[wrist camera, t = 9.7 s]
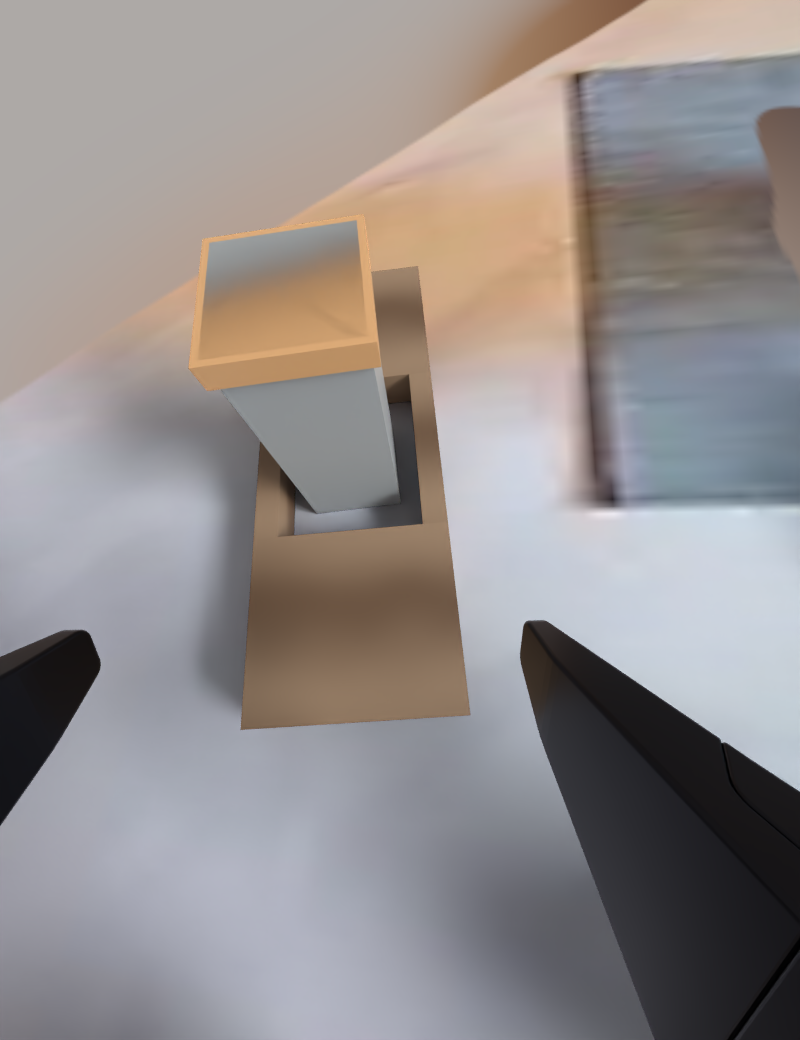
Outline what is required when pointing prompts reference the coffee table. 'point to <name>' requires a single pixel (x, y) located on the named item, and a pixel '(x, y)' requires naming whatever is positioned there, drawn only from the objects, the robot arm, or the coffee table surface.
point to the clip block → (301, 355)
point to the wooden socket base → (359, 577)
